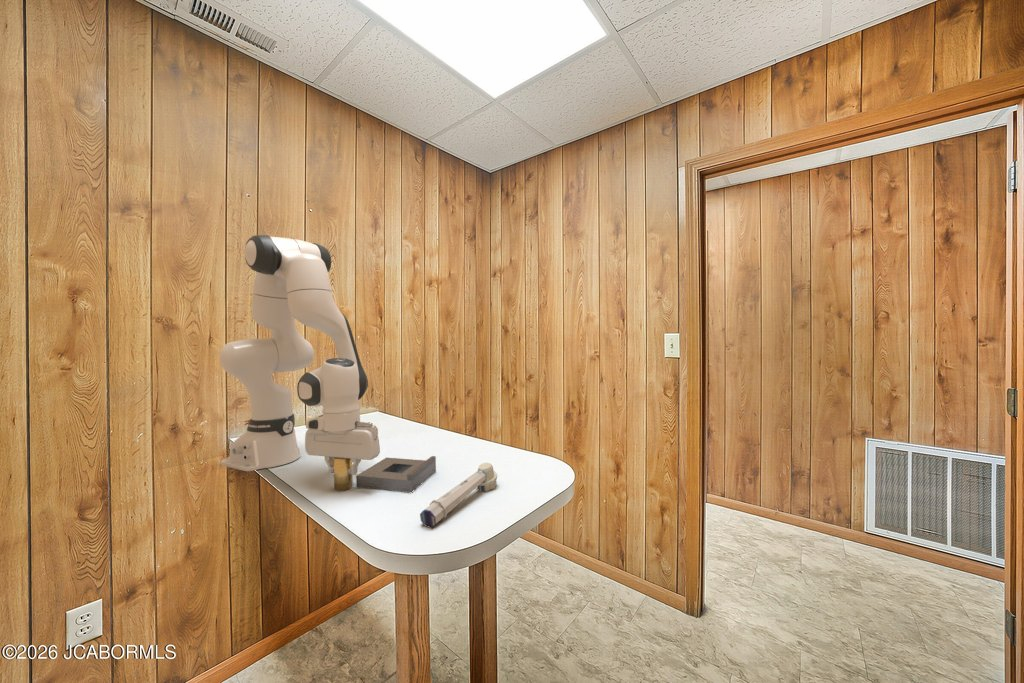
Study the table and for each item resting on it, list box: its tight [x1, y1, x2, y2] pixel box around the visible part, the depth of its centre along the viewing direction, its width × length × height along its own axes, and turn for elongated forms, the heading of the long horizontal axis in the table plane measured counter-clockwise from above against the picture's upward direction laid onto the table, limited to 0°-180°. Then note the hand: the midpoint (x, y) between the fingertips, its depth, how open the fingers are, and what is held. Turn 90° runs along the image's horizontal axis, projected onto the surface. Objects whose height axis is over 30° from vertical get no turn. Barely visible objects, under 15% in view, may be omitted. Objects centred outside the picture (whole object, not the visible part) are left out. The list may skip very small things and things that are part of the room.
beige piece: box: [419, 462, 498, 528], centre depth 87 cm, size 5×7×25 cm
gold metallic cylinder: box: [333, 457, 354, 492], centre depth 96 cm, size 4×4×8 cm
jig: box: [355, 455, 437, 493], centre depth 101 cm, size 16×14×4 cm
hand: (343, 473), depth 96 cm, fingers closed on gold metallic cylinder, 4 cm apart
